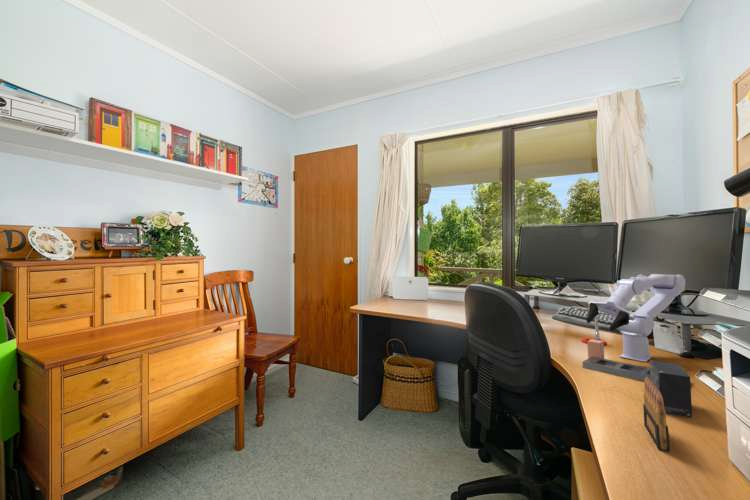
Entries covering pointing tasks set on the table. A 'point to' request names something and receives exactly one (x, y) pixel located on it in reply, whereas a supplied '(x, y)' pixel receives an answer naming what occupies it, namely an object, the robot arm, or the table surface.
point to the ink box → (667, 338)
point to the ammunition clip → (655, 416)
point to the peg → (595, 348)
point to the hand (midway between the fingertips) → (599, 324)
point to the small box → (672, 387)
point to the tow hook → (595, 333)
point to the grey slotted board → (617, 368)
